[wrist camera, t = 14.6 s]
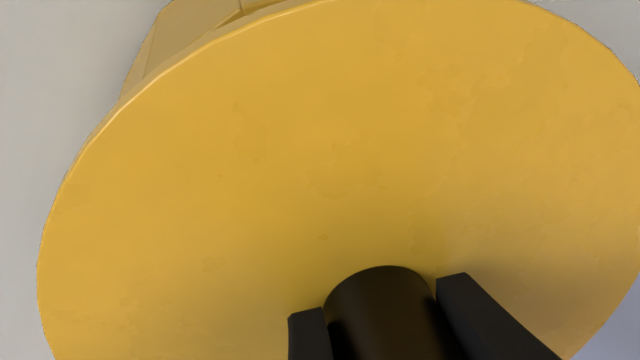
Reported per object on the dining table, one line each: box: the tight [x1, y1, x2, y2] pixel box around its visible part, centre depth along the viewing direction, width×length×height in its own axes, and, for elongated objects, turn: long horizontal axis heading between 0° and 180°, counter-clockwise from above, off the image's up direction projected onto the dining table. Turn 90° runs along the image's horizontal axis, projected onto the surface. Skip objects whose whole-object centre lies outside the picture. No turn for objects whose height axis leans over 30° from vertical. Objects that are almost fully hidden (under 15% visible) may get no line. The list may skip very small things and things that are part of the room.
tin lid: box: [37, 0, 640, 360], centre depth 10 cm, size 13×13×4 cm
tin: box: [118, 0, 287, 101], centre depth 15 cm, size 12×12×5 cm
